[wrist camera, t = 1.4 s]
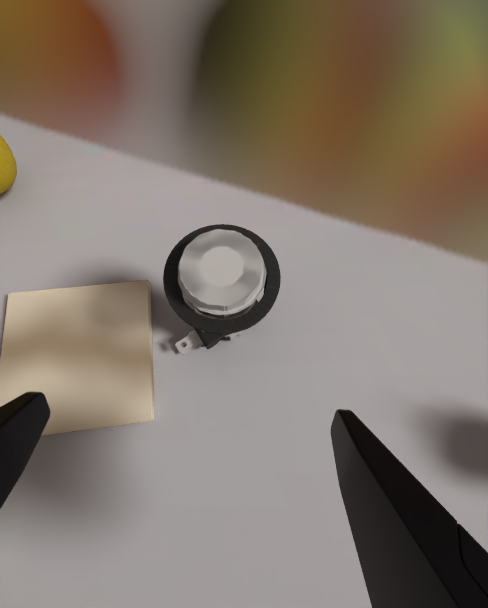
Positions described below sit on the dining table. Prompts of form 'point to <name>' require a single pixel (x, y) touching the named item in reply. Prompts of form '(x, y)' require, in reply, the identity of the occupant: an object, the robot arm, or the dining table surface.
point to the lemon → (6, 166)
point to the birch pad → (81, 354)
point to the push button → (220, 283)
